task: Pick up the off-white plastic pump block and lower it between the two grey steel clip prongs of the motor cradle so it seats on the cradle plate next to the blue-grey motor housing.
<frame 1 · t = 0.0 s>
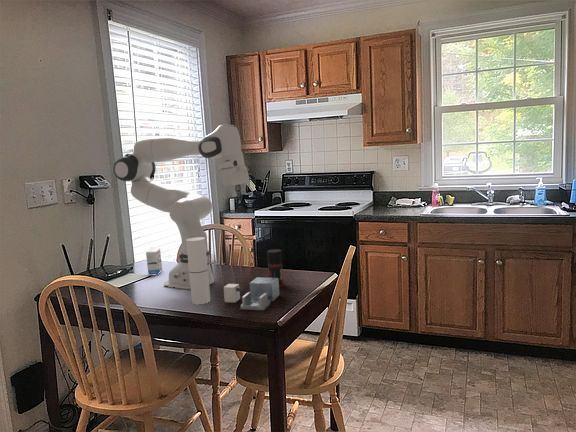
hand: (239, 195, 199), 39 cm above the table, tool pointing down, fingers open, 8 cm apart
ink box: (155, 273, 236), on the table
motor cradle: (258, 303, 178), on the table
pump: (232, 300, 184), on the table
deodorant: (276, 285, 201), on the table
cylindrical container: (201, 302, 185), on the table
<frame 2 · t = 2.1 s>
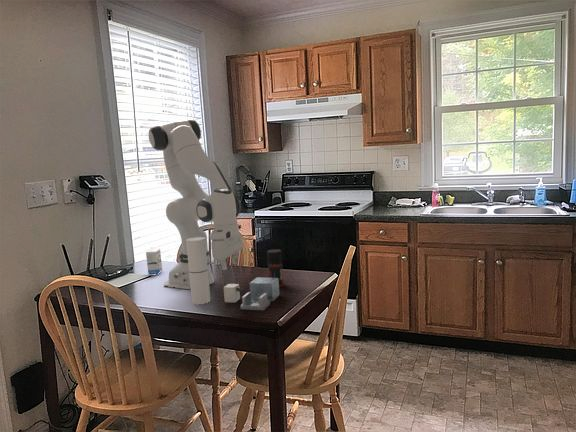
hand: (230, 266, 182), 14 cm above the table, tool pointing down, fingers open, 8 cm apart
nothing on the table moved.
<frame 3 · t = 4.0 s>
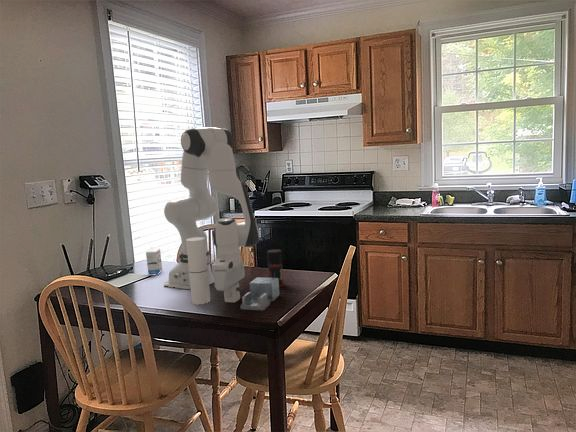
hand: (232, 295, 184), 2 cm above the table, tool pointing down, fingers closed on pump, 4 cm apart
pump: (232, 300, 184), on the table, touching gripper
everything else where it was.
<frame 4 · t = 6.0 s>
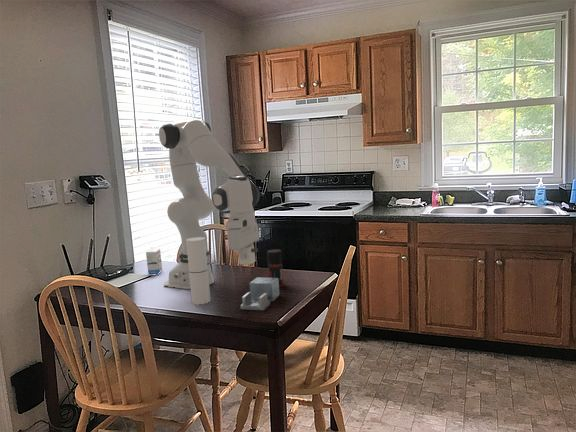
hand: (246, 257, 174), 19 cm above the table, tool pointing down, fingers closed on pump, 4 cm apart
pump: (247, 262, 174), point 16 cm above the table, touching gripper
everything else where it was.
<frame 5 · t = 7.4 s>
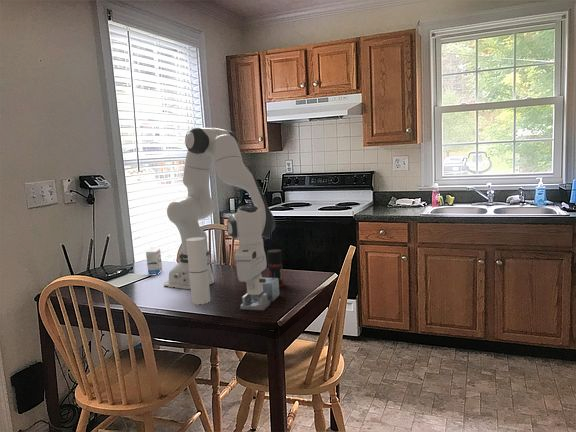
hand: (254, 287, 174), 7 cm above the table, tool pointing down, fingers closed on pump, 4 cm apart
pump: (255, 292, 174), point 5 cm above the table, touching gripper
everything else where it was.
when the fingers open (5 cm above the table, at t = 8.3 s): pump stays where it is, resting on motor cradle.
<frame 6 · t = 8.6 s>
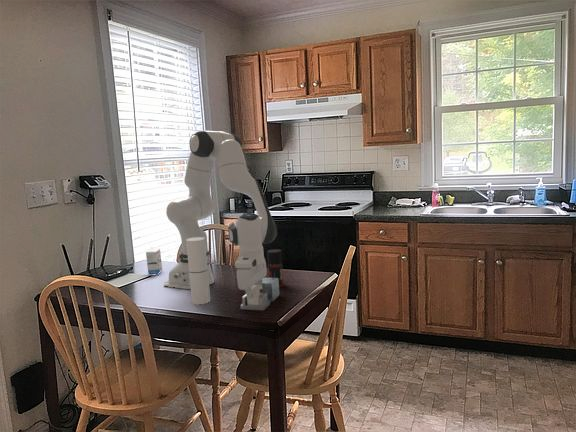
hand: (254, 294, 174), 5 cm above the table, tool pointing down, fingers open, 8 cm apart
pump: (255, 302, 175), point 1 cm above the table, touching motor cradle
everything else where it was.
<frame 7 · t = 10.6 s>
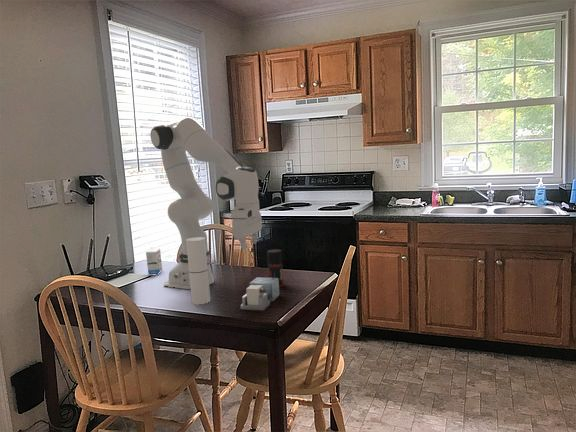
hand: (249, 246, 179), 21 cm above the table, tool pointing down, fingers open, 8 cm apart
nothing on the table moved.
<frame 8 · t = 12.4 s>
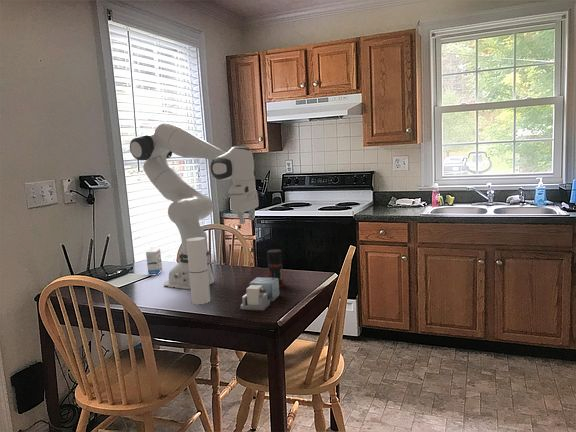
hand: (247, 221, 189), 29 cm above the table, tool pointing down, fingers open, 8 cm apart
nothing on the table moved.
at the end: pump 0.1 cm from the target spot on the motor cradle, point 1.5 cm above the motor cradle's base; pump tilted 0°; the gripper is holding nothing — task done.
